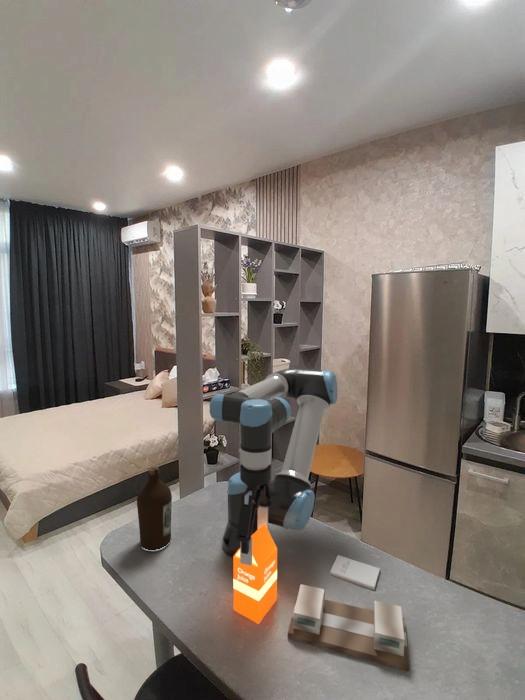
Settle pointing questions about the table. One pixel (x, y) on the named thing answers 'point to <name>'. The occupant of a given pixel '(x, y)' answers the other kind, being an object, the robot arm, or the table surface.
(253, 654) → the table surface
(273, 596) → the orange juice
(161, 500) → the olive oil
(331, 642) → the rail board
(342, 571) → the external hard drive
